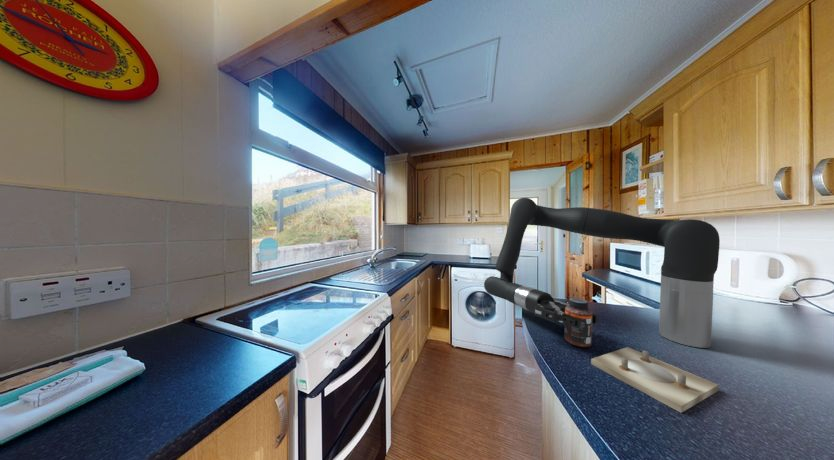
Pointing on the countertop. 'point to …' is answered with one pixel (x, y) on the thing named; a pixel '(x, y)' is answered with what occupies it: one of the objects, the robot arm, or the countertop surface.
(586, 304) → the supplement bottle
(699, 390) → the pin board
